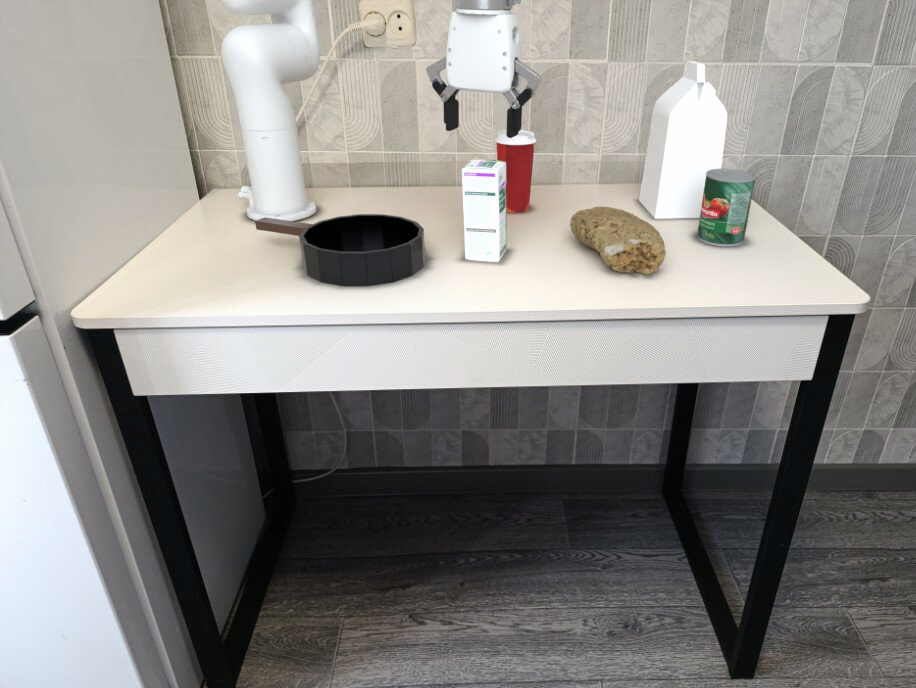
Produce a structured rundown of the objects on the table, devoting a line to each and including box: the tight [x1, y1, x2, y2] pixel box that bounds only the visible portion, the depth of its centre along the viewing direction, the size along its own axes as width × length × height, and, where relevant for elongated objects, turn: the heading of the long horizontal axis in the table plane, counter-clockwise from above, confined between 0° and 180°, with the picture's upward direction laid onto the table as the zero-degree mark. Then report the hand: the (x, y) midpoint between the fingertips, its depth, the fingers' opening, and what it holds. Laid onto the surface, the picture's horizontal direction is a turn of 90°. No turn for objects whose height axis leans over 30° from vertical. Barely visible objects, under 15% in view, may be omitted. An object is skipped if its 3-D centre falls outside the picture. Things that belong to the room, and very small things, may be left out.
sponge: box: [569, 206, 667, 276], centre depth 110 cm, size 13×8×20 cm
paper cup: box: [494, 129, 537, 214], centre depth 130 cm, size 8×8×14 cm
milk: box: [638, 60, 728, 220], centre depth 128 cm, size 12×12×26 cm
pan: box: [254, 213, 426, 287], centre depth 108 cm, size 28×18×5 cm, turn 68°
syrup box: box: [461, 159, 508, 263], centre depth 108 cm, size 6×6×14 cm
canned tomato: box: [696, 168, 757, 248], centre depth 116 cm, size 8×8×11 cm
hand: (482, 132), depth 102 cm, fingers open, 9 cm apart
